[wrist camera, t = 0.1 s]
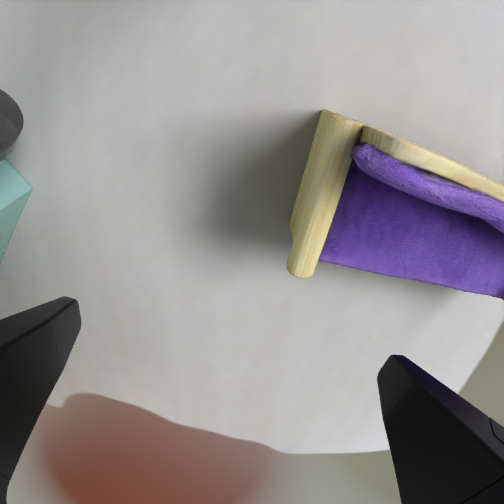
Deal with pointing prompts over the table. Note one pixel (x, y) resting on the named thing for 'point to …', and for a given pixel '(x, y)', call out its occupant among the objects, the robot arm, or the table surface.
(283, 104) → the table surface
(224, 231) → the table surface
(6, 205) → the block
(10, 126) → the plunger
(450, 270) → the toy sofa
